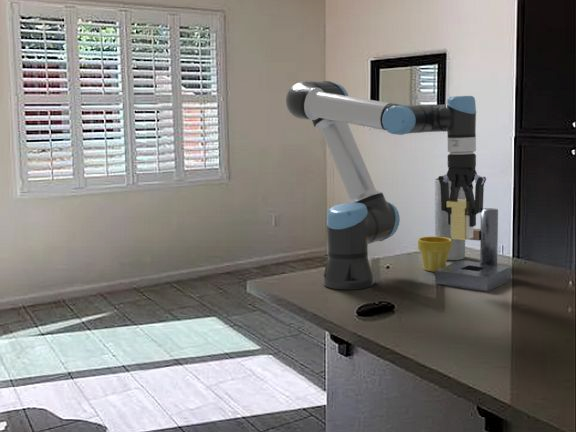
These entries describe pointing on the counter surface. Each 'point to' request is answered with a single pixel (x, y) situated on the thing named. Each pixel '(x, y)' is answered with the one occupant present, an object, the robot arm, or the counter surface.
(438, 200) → the vase
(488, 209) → the gray post stand
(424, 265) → the plant pot
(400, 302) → the counter surface
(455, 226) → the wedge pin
